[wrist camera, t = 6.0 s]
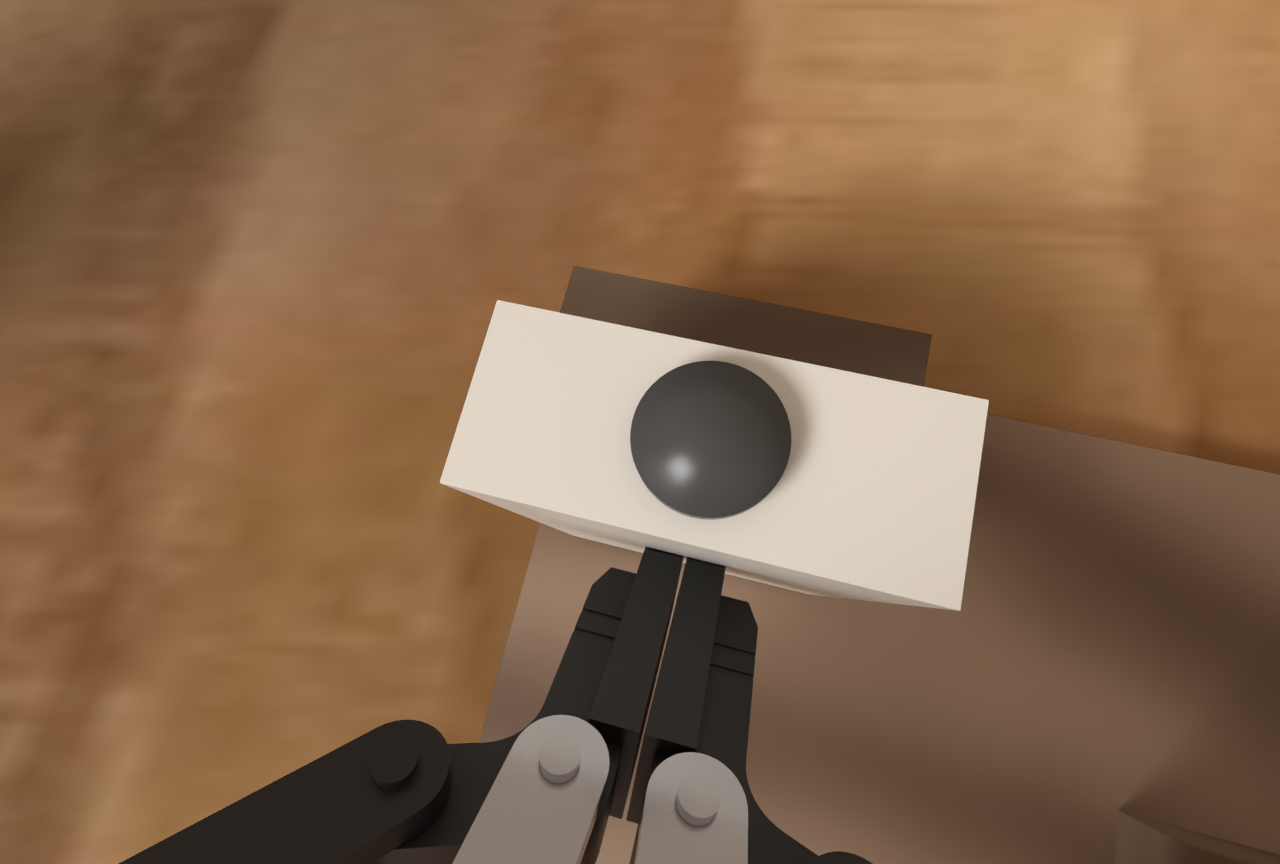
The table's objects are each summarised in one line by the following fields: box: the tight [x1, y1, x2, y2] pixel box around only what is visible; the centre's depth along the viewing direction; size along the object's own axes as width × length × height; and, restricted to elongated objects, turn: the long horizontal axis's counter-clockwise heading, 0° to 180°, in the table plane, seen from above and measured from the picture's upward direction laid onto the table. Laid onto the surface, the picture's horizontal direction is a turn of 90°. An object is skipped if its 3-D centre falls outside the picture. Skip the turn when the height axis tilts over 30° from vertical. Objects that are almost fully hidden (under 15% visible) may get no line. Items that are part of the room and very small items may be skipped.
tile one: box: [440, 300, 989, 611], centre depth 12 cm, size 2×6×9 cm, turn 76°
